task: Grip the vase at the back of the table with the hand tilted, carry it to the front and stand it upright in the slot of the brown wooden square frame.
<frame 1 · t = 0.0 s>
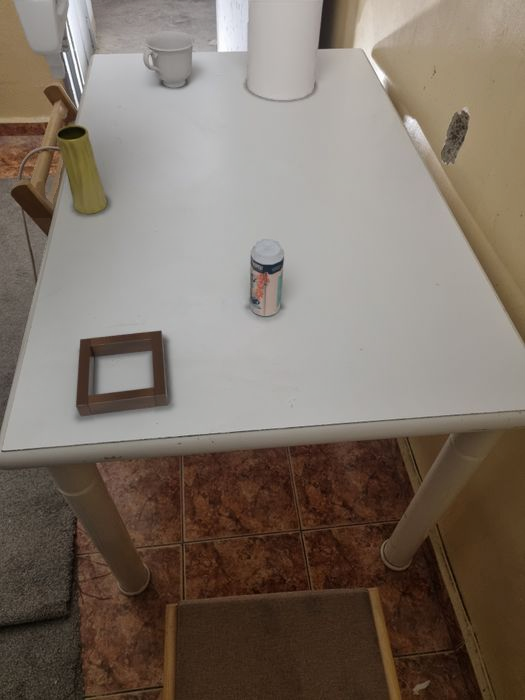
hand: (62, 63, 78), 25 cm above the table, tool pointing down, fingers open, 8 cm apart
vase: (91, 205, 98), on the table
brown wooden square frame: (124, 376, 73), on the table
teacup: (170, 85, 131), on the table
beer can: (265, 308, 82), on the table
cylinder: (280, 85, 133), on the table
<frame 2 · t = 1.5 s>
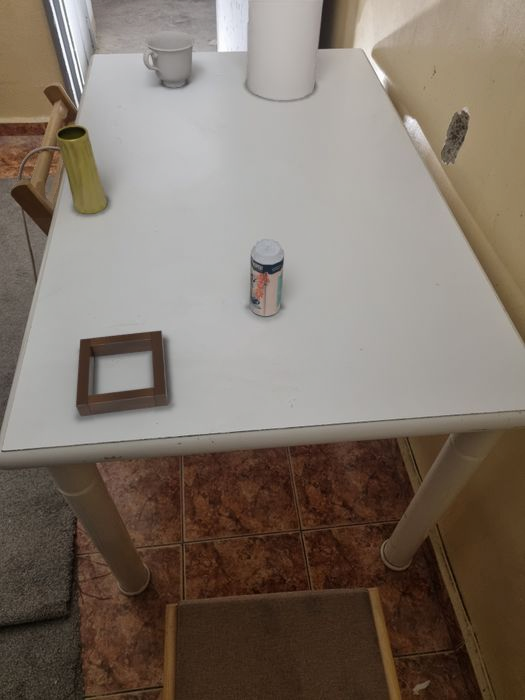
nothing on the table moved.
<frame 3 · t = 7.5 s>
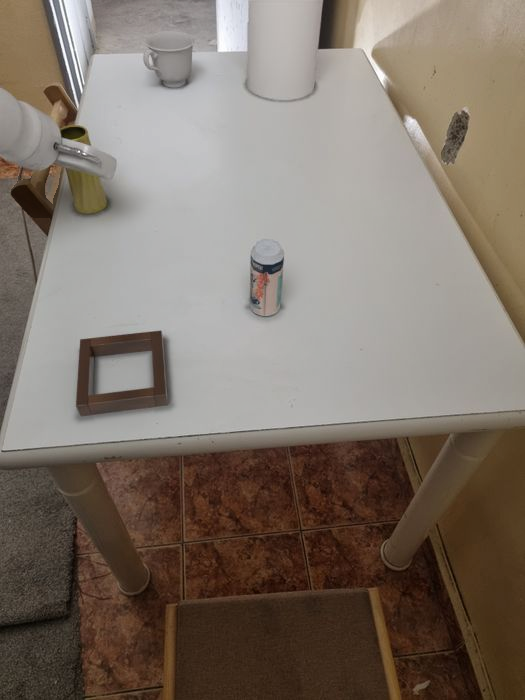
hand: (83, 165, 92), 8 cm above the table, tool tilted 45°, fingers closed on vase, 5 cm apart
vase: (91, 205, 98), on the table, touching gripper
everything else where it was.
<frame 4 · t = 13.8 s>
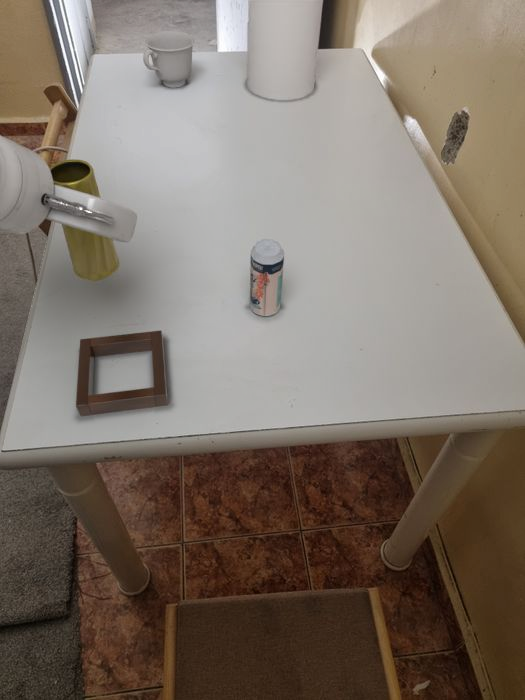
hand: (86, 215, 65), 19 cm above the table, tool tilted 45°, fingers closed on vase, 5 cm apart
vase: (97, 267, 70), point 11 cm above the table, touching gripper
everything else where it was.
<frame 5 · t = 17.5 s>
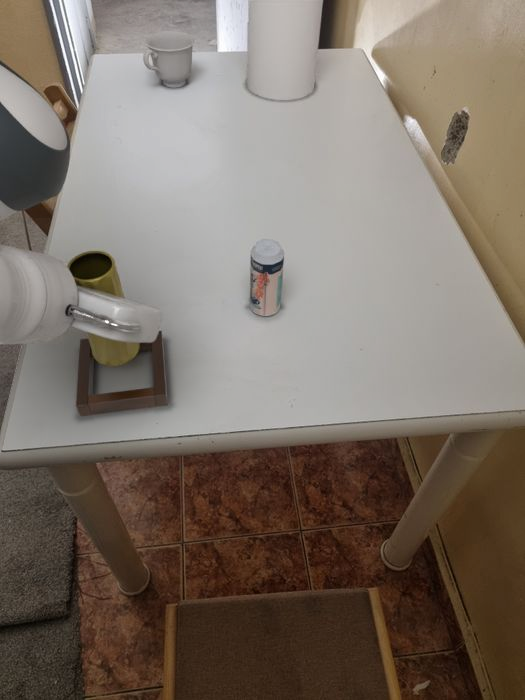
hand: (106, 303, 62), 14 cm above the table, tool tilted 45°, fingers closed on vase, 5 cm apart
vase: (116, 349, 68), point 6 cm above the table, touching gripper
everything else where it was.
when the fingers open (8 cm above the table, at t = 20.4 s): vase stays where it is, resting in brown wooden square frame.
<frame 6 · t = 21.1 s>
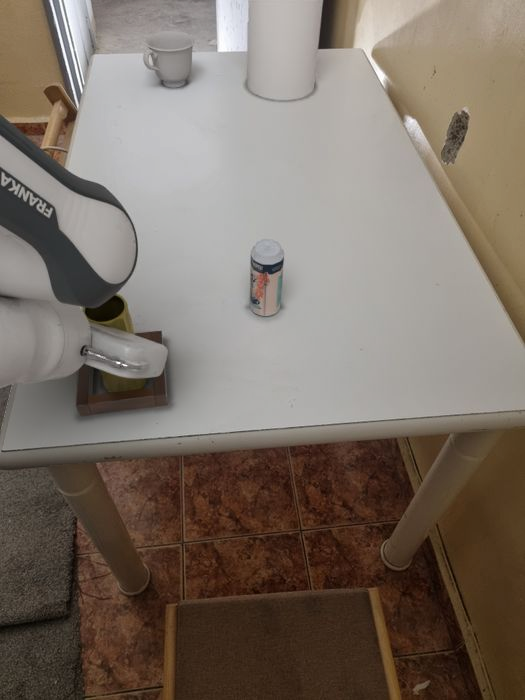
hand: (115, 334, 67), 8 cm above the table, tool tilted 45°, fingers open, 8 cm apart
vase: (126, 379, 73), resting in brown wooden square frame
everything else where it was.
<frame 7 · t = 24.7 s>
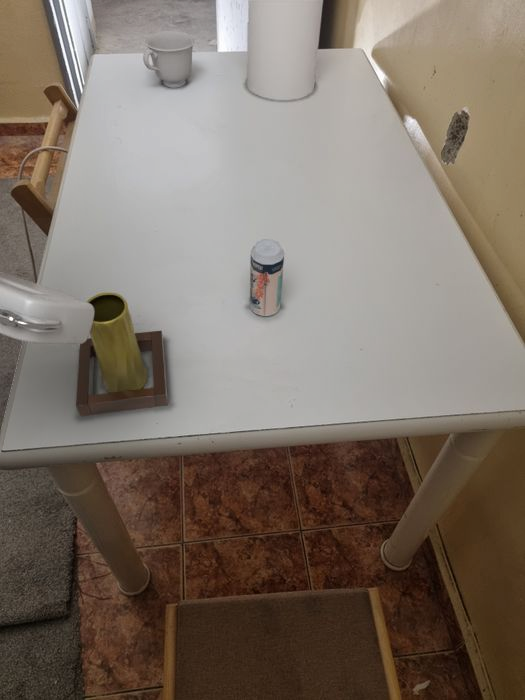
hand: (38, 294, 52), 22 cm above the table, tool tilted 45°, fingers open, 8 cm apart
nothing on the table moved.
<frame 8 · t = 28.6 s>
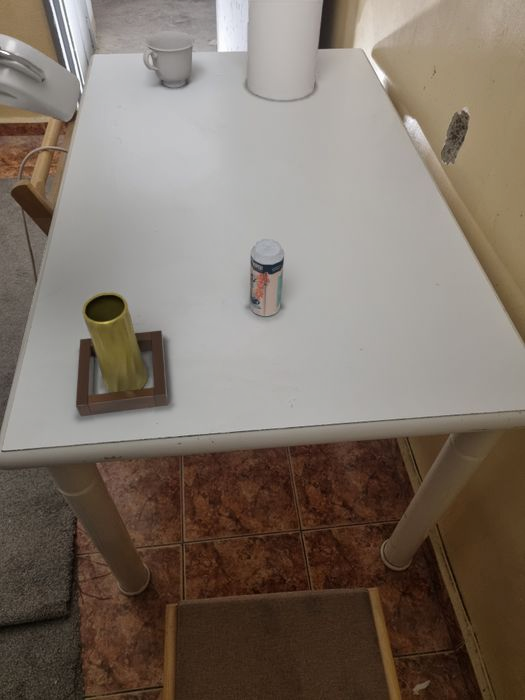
hand: (25, 102, 51), 34 cm above the table, tool tilted 45°, fingers open, 8 cm apart
nothing on the table moved.
at the end: vase 0.4 cm off-centre in the brown wooden square frame, point 0.0 cm above the brown wooden square frame's base; vase tilted 0°; the gripper is holding nothing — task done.
